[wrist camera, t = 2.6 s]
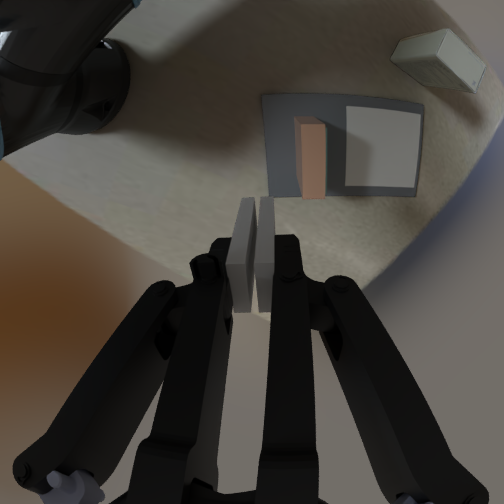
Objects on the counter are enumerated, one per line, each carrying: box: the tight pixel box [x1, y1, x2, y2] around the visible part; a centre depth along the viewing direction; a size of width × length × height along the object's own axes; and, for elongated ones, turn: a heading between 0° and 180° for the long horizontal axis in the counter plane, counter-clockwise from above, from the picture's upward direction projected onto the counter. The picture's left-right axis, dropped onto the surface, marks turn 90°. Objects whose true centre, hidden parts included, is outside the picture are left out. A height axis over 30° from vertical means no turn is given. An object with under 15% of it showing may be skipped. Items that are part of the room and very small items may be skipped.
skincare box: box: [390, 28, 486, 94], centre depth 19 cm, size 6×4×12 cm
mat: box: [261, 93, 424, 197], centre depth 32 cm, size 22×14×1 cm, turn 95°
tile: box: [294, 116, 327, 199], centre depth 29 cm, size 3×8×8 cm, turn 5°
